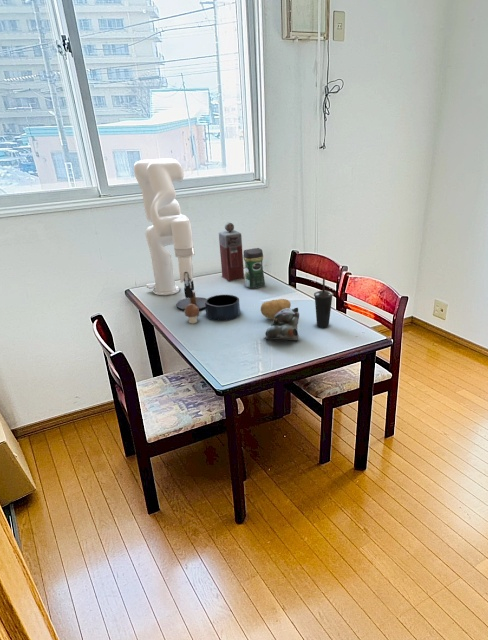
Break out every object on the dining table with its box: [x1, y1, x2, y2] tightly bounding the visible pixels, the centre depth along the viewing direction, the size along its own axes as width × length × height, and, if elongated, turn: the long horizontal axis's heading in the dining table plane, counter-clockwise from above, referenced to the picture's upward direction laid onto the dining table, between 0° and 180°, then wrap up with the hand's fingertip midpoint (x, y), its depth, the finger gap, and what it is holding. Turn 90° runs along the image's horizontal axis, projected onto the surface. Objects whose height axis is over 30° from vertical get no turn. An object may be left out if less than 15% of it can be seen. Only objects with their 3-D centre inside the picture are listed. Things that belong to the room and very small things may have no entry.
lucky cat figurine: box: [263, 307, 300, 342], centre depth 191 cm, size 15×12×14 cm
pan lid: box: [175, 291, 207, 311], centre depth 226 cm, size 16×16×6 cm
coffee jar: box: [243, 247, 266, 289], centre depth 245 cm, size 10×8×19 cm
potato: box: [260, 298, 291, 320], centre depth 211 cm, size 10×14×8 cm
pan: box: [205, 294, 241, 322], centre depth 216 cm, size 15×15×6 cm
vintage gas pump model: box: [218, 221, 245, 282], centre depth 254 cm, size 9×11×28 cm
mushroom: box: [183, 304, 200, 324], centre depth 209 cm, size 6×6×8 cm
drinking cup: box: [313, 277, 334, 329], centre depth 199 cm, size 8×8×20 cm
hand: (189, 293), depth 204 cm, fingers open, 9 cm apart
